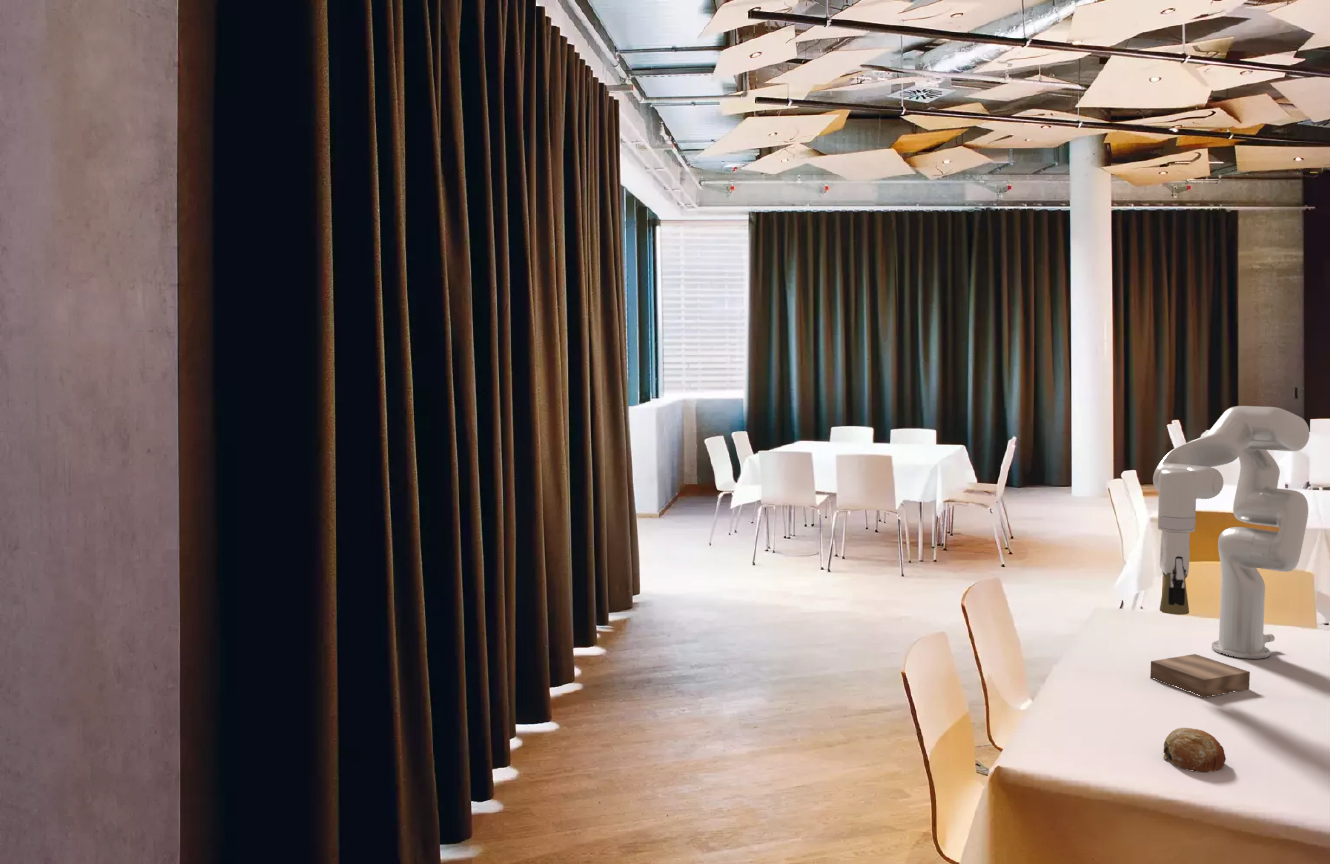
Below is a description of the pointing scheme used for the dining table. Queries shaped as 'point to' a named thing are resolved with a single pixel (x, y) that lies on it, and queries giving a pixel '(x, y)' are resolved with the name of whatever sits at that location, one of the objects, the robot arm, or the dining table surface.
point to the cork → (1175, 608)
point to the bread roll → (1194, 750)
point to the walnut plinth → (1200, 675)
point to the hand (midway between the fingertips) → (1174, 601)
